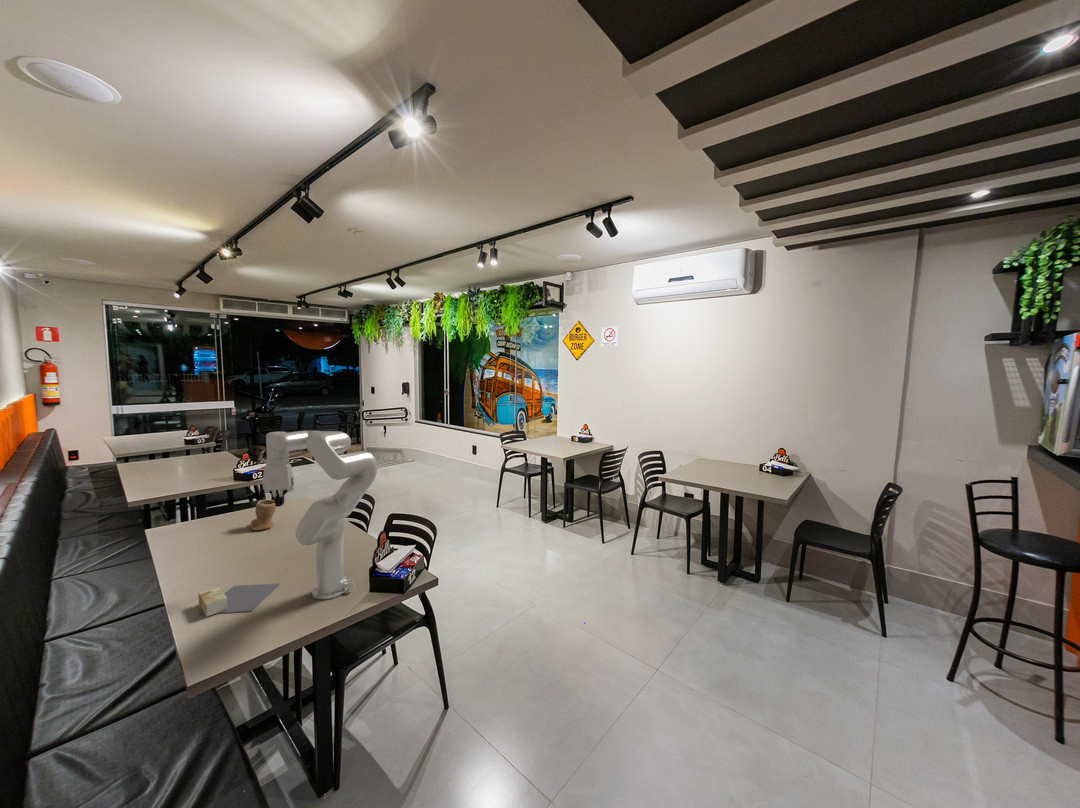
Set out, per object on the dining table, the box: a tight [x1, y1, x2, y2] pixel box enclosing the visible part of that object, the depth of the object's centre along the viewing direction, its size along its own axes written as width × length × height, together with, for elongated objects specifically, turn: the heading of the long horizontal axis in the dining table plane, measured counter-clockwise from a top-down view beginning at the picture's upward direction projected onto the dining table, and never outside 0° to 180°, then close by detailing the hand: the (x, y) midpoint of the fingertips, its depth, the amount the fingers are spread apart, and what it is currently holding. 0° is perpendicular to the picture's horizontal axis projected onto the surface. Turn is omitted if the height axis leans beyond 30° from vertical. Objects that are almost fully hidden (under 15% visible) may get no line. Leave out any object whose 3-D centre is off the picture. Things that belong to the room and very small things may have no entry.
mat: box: [198, 583, 280, 616], centre depth 149 cm, size 17×19×1 cm
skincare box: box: [197, 586, 228, 617], centre depth 143 cm, size 6×4×12 cm
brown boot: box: [250, 499, 277, 531], centre depth 221 cm, size 15×12×15 cm
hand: (279, 505), depth 163 cm, fingers closed
